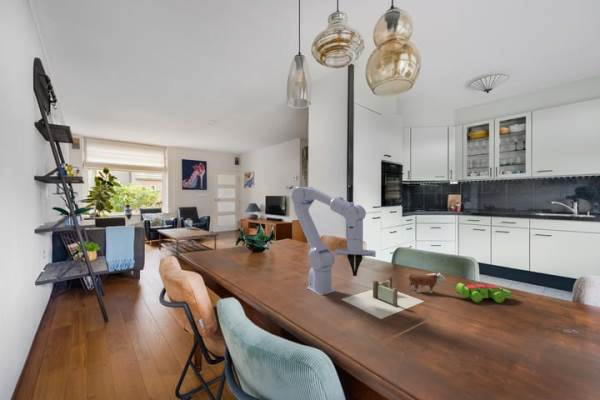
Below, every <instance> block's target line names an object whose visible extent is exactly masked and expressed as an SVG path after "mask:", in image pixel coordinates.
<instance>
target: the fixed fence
mask: <svg viewBox="0 0 600 400" xmlns="http://www.w3.org/2000/svg"><path fill="white" fill-rule="evenodd" d="M378 285H381V286H384V287H387V288H389V289H392V290H393V277H391V276H388V278H387V280H383V281H380V282H379V280H373V281H372V290H373V298H378Z"/></svg>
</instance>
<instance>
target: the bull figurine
mask: <svg viewBox="0 0 600 400" xmlns="http://www.w3.org/2000/svg"><path fill="white" fill-rule="evenodd" d="M408 279H409V287H410V290H412V291H415V290H416V292H417V293H419V294H420V293H422V292H421V290H420V289H419V285H420V287H421V288H423V287H426V286H427V287H429V293H430V294H433V293H434V292H435V291H434V287H436V286H437V285H438V284H439V283H441V282H443V283H444V282H446V281H447V279H446V278H445V277H444V275H443V274H441V272H438V273H435V272H433V273H427V274H422V273H421V274H418V273H411V274H409V276H408Z"/></svg>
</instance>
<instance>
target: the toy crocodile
mask: <svg viewBox="0 0 600 400" xmlns="http://www.w3.org/2000/svg"><path fill="white" fill-rule="evenodd" d="M455 291H456V293H457V294H459V295H461V296H462V297H465V298H470V299H471V301H473V302H475V303H480V302H482V301H483V299H489V298H491V299H493V301H495V302H496V303H499V304H500V303H504V302H505V298H512V296H513V292H512V291H510V290H508V289H506V288H503V287H500V286H497V285H495V284H485V285H484V284H483V283H480V284H479V283H476V284H471V283H470V284H468V285H465V284H464V283H462V282H459V283H457V284H456V287H455Z"/></svg>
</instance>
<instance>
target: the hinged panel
mask: <svg viewBox="0 0 600 400" xmlns="http://www.w3.org/2000/svg"><path fill="white" fill-rule="evenodd" d="M397 292H399V291H398V288H397V287H392V289H389V288H387V287H384V286H381V285H378V298H379V299H382V300H384V301H387V302H389V303H392V304H393V305H397Z"/></svg>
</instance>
